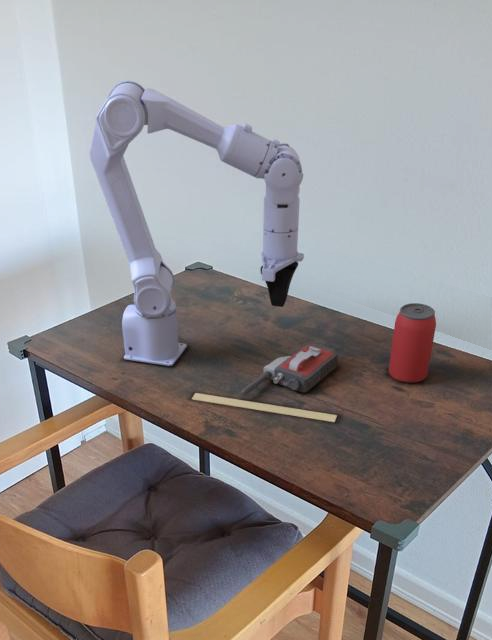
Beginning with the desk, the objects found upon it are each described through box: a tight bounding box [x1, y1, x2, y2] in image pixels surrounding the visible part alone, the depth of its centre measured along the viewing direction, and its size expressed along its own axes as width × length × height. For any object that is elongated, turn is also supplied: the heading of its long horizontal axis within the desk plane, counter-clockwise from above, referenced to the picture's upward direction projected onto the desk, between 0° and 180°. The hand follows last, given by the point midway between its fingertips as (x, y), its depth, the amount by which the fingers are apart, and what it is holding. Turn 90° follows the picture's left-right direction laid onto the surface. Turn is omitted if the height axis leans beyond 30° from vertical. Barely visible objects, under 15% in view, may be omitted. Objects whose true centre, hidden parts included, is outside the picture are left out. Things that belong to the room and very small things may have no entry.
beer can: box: [388, 302, 437, 384], centre depth 125 cm, size 7×7×12 cm
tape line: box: [191, 392, 338, 423], centre depth 122 cm, size 24×2×1 cm, turn 71°
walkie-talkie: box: [240, 342, 339, 396], centre depth 127 cm, size 9×4×20 cm
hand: (278, 304), depth 131 cm, fingers closed
